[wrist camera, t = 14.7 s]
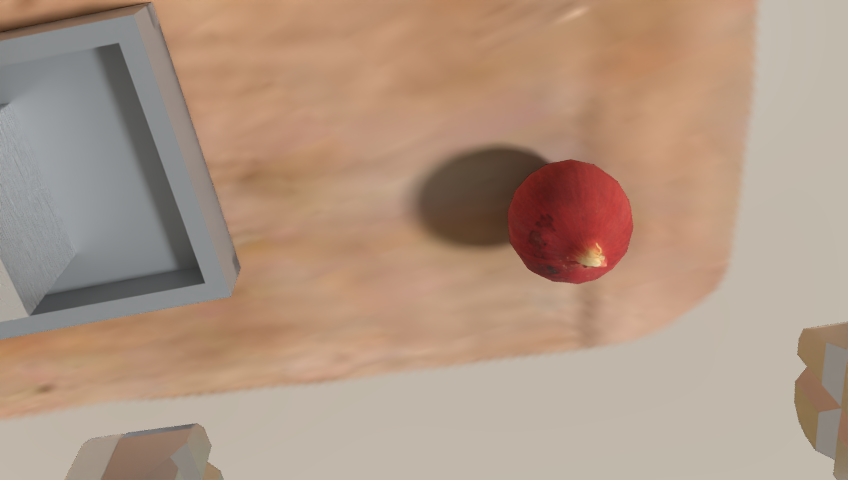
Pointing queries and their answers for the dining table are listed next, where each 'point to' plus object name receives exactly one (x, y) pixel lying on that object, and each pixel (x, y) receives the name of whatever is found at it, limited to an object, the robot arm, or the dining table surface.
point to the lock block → (26, 226)
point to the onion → (570, 222)
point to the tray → (116, 169)
